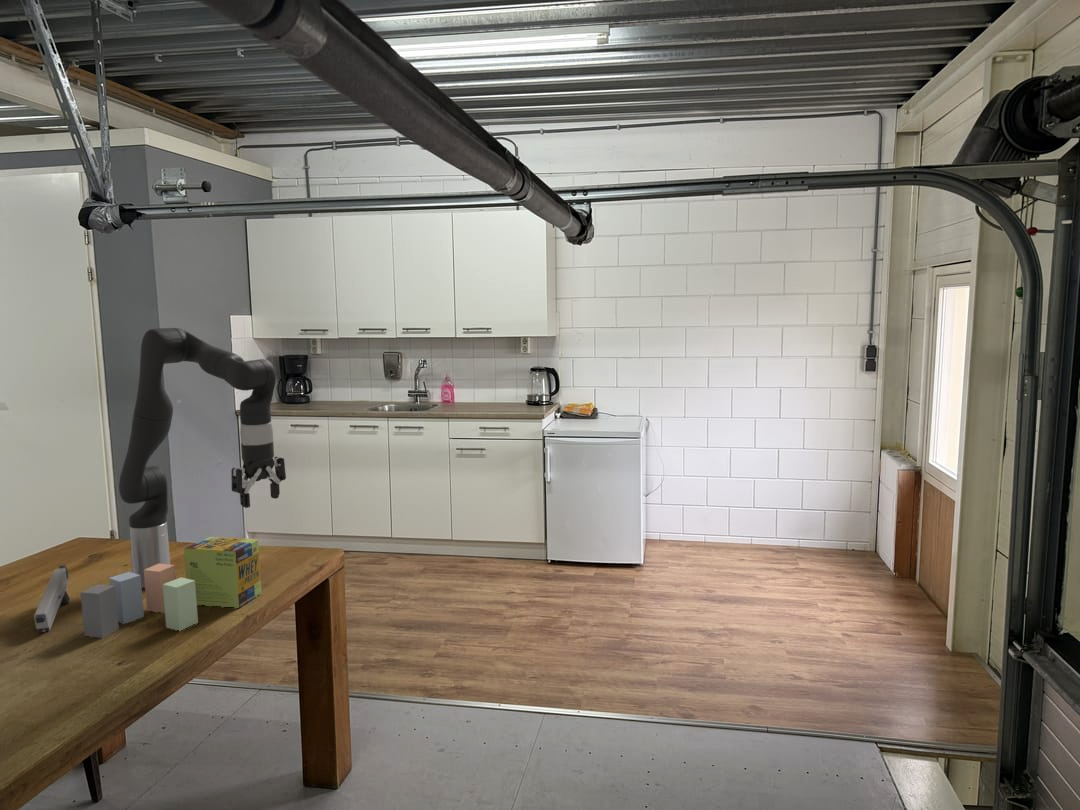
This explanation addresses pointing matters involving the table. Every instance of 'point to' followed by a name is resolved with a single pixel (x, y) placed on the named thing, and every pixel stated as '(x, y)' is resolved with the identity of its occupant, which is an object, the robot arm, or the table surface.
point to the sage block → (180, 603)
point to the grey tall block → (99, 610)
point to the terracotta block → (157, 585)
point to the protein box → (224, 571)
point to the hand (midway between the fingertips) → (260, 502)
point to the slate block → (128, 596)
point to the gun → (52, 599)
